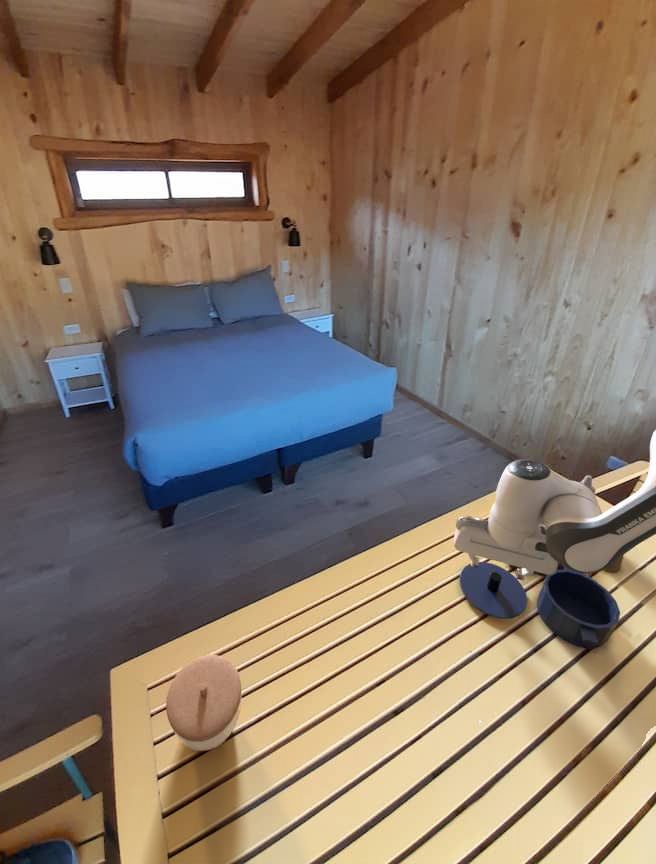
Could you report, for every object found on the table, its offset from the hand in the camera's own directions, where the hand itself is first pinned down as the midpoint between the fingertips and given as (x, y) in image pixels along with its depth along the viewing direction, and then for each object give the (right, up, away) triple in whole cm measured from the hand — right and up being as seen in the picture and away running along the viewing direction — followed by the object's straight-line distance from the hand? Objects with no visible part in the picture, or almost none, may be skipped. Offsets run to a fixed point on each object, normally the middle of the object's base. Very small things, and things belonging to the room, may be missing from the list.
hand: (496, 571), depth 91 cm
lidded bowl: (-61, -19, -18) cm, 67 cm away
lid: (0, -6, +3) cm, 6 cm away
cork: (+32, -2, +9) cm, 33 cm away
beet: (+18, 0, +9) cm, 20 cm away
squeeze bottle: (+30, +3, +20) cm, 36 cm away
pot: (+15, -9, -3) cm, 18 cm away
